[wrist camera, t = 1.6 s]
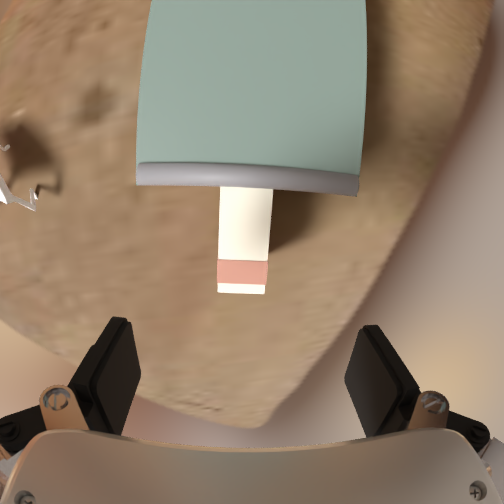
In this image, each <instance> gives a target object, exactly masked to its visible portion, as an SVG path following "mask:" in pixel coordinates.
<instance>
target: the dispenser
mask: <svg viewBox="0 0 504 504" xmlns="http://www.w3.org/2000/svg"><path fill="white" fill-rule="evenodd" d="M366 79H367V26H366V3H365V0H152V3H151V8H150V13H149V19H148V25H147V31H146V38H145V45H144V52H143V60H142V69H141V78H140V89H139V102H138V119H137V145H136V185H187V186H222V187H245V188H263V189H278V190H292V191H304V192H316V193H327V194H337V195H346V196H356V197H357V193H358V190H359V174H360V165H361V156H362V145H363V134H364V120H365V104H366Z"/></svg>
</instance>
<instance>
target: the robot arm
mask: <svg viewBox="0 0 504 504" xmlns="http://www.w3.org/2000/svg"><path fill="white" fill-rule="evenodd" d="M140 377H141V369H140V365H139V360H138V356H137V351H136V346H135V341H134V335H133V330H132V325H131V322H128V321H127V319H126V318H122V317H112V318H111V319H110V321H109V323H108V324H107V326H106V327H105V329H104V330H103V332H102V334H101V335H100V337H99V338H98V340H97V342H96V343H95V345H92V346H91V348H90V349H89V351H88V352H87V354H86V356H85V357H84V359H83V360H82V362H81V364H80V365H79V367H78V369H77V371H76V372H75V374H74V376H73V377H72V379H71V381H70V383H69V384H68V386H64V385H53V386H50V387H48V388H47V389H45V390H44V391H43V392H42V394H41V395H40V398H39V403H40V405H37V406H35V407H31V408H29V409H26V410H23V411H20V412H17V413H14V414H11V415H8V416H5V417H3V418H1V419H0V504H504V444H503V443H502V442H501V441H499V440H498V439H496V438H495V437H493V439H490V433H489V430H488V428H487V427H486V426H485V425H484V424H483V423H481V422H479V421H476V420H473V419H470V418H467V417H465V416H462V415H460V414H457V413H454V412H451V411H449V402H448V400H447V399H446V397H445V396H443V395H442V394H440V393H438V392H436V391H425V392H423V393H421V392H420V390H419V388H420V387H419V386H418V384H417V383H416V381H415V380H414V378H413V376H412V375H411V373H410V372H409V370H408V369H407V367H406V366H405V364H404V363H403V362H402V360H401V358H400V357H399V356H398V354H397V352H396V351H395V349H394V348H393V346H392V345H391V343H390V342H389V340H388V339H387V338H386V336H385V335H384V333H383V332H382V330H381V329H380V327H379V326H378V325H365V326H364V327H363V328H362V329H360V330H359V332H358V336H357V339H356V342H355V346H354V349H353V352H352V355H351V358H350V361H349V364H348V367H347V371H346V373H345V384H346V386H347V389H348V392H349V394H350V397H351V399H352V402H353V404H354V407H355V409H356V412H357V414H358V417H359V419H360V422H361V424H362V427H363V430H364V432H365V435H366V438H362V439H355V440H350V441H343V442H335V443H328V444H318V445H309V446H295V447H277V448H221V447H204V446H203V447H202V446H191V445H181V444H171V443H164V442H156V441H149V440H142V439H136V438H131V437H125V436H121V433H122V430H123V427H124V424H125V421H126V418H127V415H128V412H129V409H130V406H131V403H132V400H133V398H134V395H135V392H136V389H137V386H138V383H139V381H140Z"/></svg>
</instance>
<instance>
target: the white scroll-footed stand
mask: <svg viewBox="0 0 504 504" xmlns="http://www.w3.org/2000/svg"><path fill="white" fill-rule="evenodd" d="M9 148H10V145H6V146H5V147H4V148H3V147H2V146H1V145H0V149H1V150H3V151H7V150H8V149H9ZM30 198H31V203H29V202H27V201H25V200H23V199H21V198H19V197H16V196H14V195H12V194H11V192H10V190H9V189H8V187H7V185H6V183H5V181H4V179H3V178H2V176H1V174H0V201H3V202H4V203H6V204H9V203H12V202H17V203H19V204H21V205H23V206H25V207H27V208H29V209H31V210H33V211H36V203H35V199H38V196H37V194H36V193H35V191H34V190H33V189H30Z"/></svg>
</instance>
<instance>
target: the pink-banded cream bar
mask: <svg viewBox="0 0 504 504" xmlns="http://www.w3.org/2000/svg"><path fill="white" fill-rule="evenodd" d="M272 199H273V189H263V188H245V187H222V186H221V188H220V215H219V250H218V259H217V283H218V292H223V293H248V294H264V291H265V285H266V279H267V269H268V259H267V258H268V247H269V235H270V224H271V212H272Z"/></svg>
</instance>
